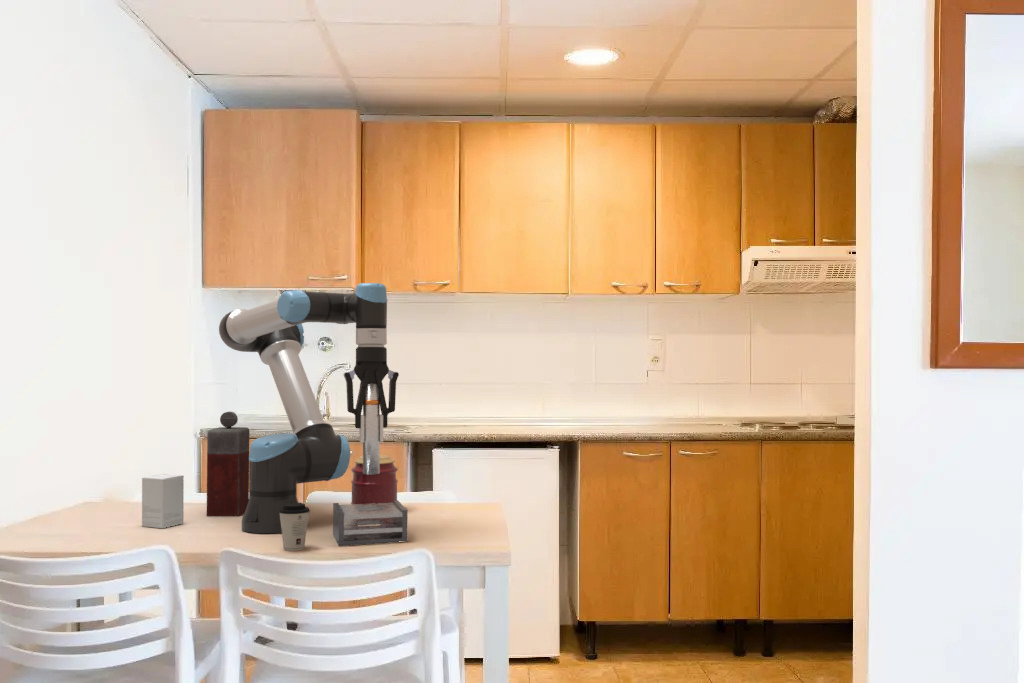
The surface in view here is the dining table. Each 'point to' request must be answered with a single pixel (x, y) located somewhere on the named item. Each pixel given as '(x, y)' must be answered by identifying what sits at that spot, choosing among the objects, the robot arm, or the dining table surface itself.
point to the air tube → (371, 430)
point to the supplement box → (162, 500)
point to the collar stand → (369, 523)
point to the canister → (374, 483)
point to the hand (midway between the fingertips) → (371, 441)
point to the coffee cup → (294, 525)
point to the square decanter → (227, 468)
